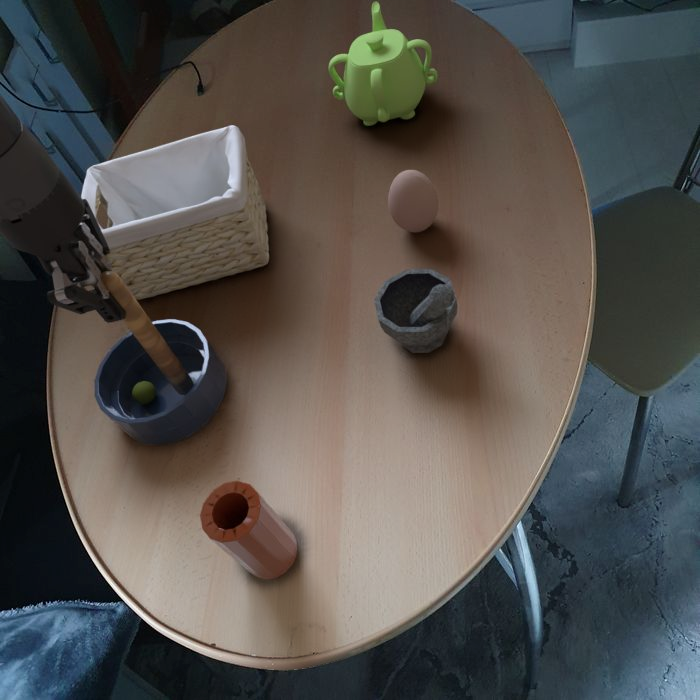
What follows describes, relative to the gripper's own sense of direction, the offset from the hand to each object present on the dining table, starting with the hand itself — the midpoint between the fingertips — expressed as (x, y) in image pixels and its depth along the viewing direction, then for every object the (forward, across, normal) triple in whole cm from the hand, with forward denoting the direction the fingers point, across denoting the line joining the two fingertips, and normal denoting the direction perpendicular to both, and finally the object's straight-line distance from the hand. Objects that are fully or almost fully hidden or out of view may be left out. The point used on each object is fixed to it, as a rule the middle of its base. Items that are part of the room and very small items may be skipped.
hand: (118, 307), depth 72 cm
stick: (+17, 0, 0) cm, 17 cm away
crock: (+20, +22, +9) cm, 31 cm away
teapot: (+20, -50, +35) cm, 64 cm away
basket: (+20, -27, +1) cm, 34 cm away
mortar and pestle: (+20, 0, +31) cm, 37 cm away
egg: (+20, -20, +34) cm, 44 cm away
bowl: (+20, -2, -3) cm, 20 cm away
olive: (+18, -2, -6) cm, 19 cm away
